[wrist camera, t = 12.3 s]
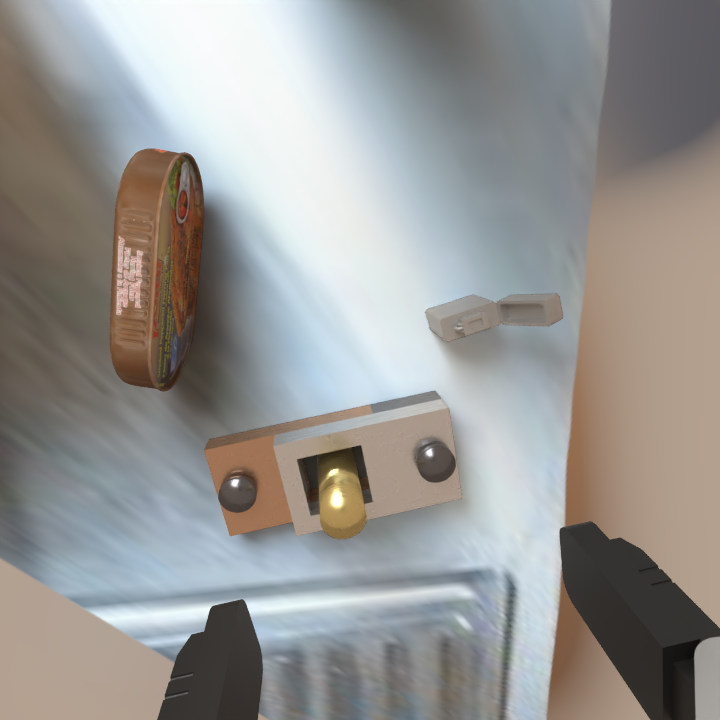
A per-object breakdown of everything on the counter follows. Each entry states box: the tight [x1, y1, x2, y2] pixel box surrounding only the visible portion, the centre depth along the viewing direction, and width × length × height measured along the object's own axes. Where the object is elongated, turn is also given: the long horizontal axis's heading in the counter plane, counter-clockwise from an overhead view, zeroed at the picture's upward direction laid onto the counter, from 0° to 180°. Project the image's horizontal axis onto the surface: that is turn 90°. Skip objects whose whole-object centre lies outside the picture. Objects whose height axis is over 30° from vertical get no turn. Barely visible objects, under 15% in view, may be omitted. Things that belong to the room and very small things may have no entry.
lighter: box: [425, 293, 563, 342], centre depth 34 cm, size 7×2×8 cm, turn 107°
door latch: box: [204, 391, 462, 536], centre depth 37 cm, size 8×18×5 cm, turn 101°
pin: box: [318, 447, 367, 539], centre depth 36 cm, size 3×3×9 cm
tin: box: [110, 149, 204, 391], centre depth 31 cm, size 15×3×8 cm, turn 171°
